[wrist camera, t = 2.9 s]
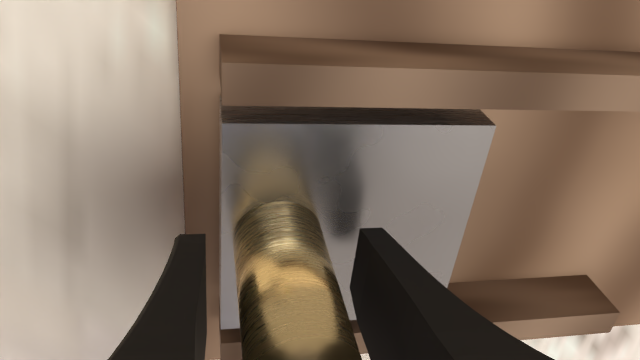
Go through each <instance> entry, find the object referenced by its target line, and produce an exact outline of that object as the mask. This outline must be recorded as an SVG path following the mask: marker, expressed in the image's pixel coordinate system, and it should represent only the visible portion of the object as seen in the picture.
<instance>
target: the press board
mask: <svg viewBox="0 0 640 360" xmlns="http://www.w3.org/2000/svg"><path fill="white" fill-rule="evenodd" d="M176 10H177V35H178V61H179V86H180V112H181V137H182V163H183V188H184V214H185V234H206V301H207V338H206V350H205V360H215V359H220V360H243V359H242V347H241V335H240V328H235V329H221V324H220V300H219V148H220V96H221V99H222V105H227V106H294V107H362V108H429V109H480V110H481V111H482V112H483V113H484V114H485V115H486V116H487V117H488V118H489V119H490V120H491V121H492V122H493V123H494V124H495V125H496V129H495V132H494V136H493V139H492V142H491V145H490V149H489V152H488V155H487V159H486V162H485V165H484V169H483V172H482V175H481V178H480V182H479V185H478V188H477V192H476V195H475V198H474V202H473V205H472V208H471V211H470V215H469V218H468V221H467V225H466V228H465V231H464V235H463V238H462V241H461V244H460V248H459V251H458V254H457V258H456V261H455V264H454V268H453V271H452V274H451V277H450V281H449V284H448V287H447V289H448V290H450V291H451V292H452V293H453V294H454V295H456V296H457V297H458V298H459V299H461V300H462V301H463V302H464V303H466V304H467V305H468V306H469V307H471V308H472V309H473V310H475V311H476V312H478V313H479V314H480V315H482V316H483V317H485V318H486V319H488V320H489V321H490V322H492V323H493V324H495V325H496V326H498V327H499V328H501V329H502V330H504V331H505V332H507V333H508V334H510V335H512V336H513V337H515V338H517V339H518V340H526V339H538V338H550V337H561V336H573V335H584V334H596V333H608V332H610V331H611V329H612V327H613V326H623V325H635V324H640V0H176ZM350 323H351V326H352V329H353V333H354V336H355V339H356V342H357V345H358V349H359V352H360V354H364V353H368V351H367V348H366V345H365V343H364V340H363V337H362V334H361V331H360V329H359V326H358V323H357V320H350Z"/></svg>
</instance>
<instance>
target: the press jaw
mask: <svg viewBox="0 0 640 360" xmlns="http://www.w3.org/2000/svg"><path fill="white" fill-rule="evenodd" d="M495 129H496V125H495V124H494V123H493V122H492V121H491V120H490V119H489V118H488V117H487V116H486V115H485V114H484V113H483V112H482V111H481V110H480V109H429V108H362V107H294V106H227V105H222V99H221V96H220V148H219V300H220V324H221V329H235V328H240V335H241V347H242V359H243V360H362V358H361V355H360V352H359V349H358V345H357V342H356V339H355V336H354V333H353V329H352V326H351V323H350V320H357V319H356V315H355V310H354V306H353V301H352V296H351V292H350V282H351V276H352V270H353V265H354V259H355V253H356V247H357V242H358V236H359V230H360V228H383V229H384V230H385V231H386V232H388V233H389V234H390V235H391V236H392V237H393V238H394V239H395V240H396V241H397V242H398V243H399V244H400V245H401V246H402V247H403V248H404V249H405V250H406V251H407V252H408V253H409V254H410V255H411V256H412V257H413V258H414V259H415V260H416V261H417V262H418V263H419V264H420V265H421V266H422V267H424V268H425V269H426V270H427V271H428V272H429V273H430V274H431V275H432V276H433V277H434V278H436V279H437V280H438V281H439V282H440V283H441V284H442V285H444V286H445V287H446V288H447V287H448V284H449V281H450V277H451V274H452V271H453V268H454V264H455V261H456V258H457V254H458V251H459V248H460V244H461V241H462V238H463V235H464V231H465V228H466V225H467V221H468V218H469V215H470V211H471V208H472V205H473V202H474V198H475V195H476V192H477V188H478V185H479V182H480V178H481V175H482V172H483V169H484V165H485V162H486V159H487V155H488V152H489V149H490V145H491V142H492V139H493V136H494V132H495Z"/></svg>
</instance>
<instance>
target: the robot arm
mask: <svg viewBox="0 0 640 360" xmlns="http://www.w3.org/2000/svg"><path fill="white" fill-rule="evenodd" d="M350 292H351V296H352V301H353V306H354V310H355V315H356V319H357V323H358V326H359V329H360V331H361V334H362V337H363V340H364V343H365V345H366V348H367V351H368V354H369V356H370V359H371V360H554V359H552V358H550V357H548V356H546V355H545V354H543V353H541V352H539V351H537V350H535V349H534V348H532V347H530V346H529V345H527V344H525V343H524V342H522V341H520V340H518V339H517V338H515V337H513V336H512V335H510V334H508V333H507V332H505V331H504V330H502V329H501V328H499V327H498V326H496V325H495V324H493V323H492V322H490V321H489V320H488V319H486V318H485V317H483V316H482V315H480V314H479V313H478V312H476V311H475V310H473V309H472V308H471V307H469V306H468V305H467V304H466V303H464V302H463V301H462V300H461V299H459V298H458V297H457V296H456V295H454V294H453V293H452V292H451V291H450V290H448V289H447V288H446V287H445V286H444V285H442V284H441V283H440V282H439V281H438V280H437V279H436V278H434V277H433V276H432V275H431V274H430V273H429V272H428V271H427V270H426V269H425V268H424V267H422V266H421V265H420V264H419V263H418V262H417V261H416V260H415V259H414V258H413V257H412V256H411V255H410V254H409V253H408V252H407V251H406V250H405V249H404V248H403V247H402V246H401V245H400V244H399V243H398V242H397V241H396V240H395V239H394V238H393V237H392V236H391V235H390V234H389V233H388V232H386V231H385V230H384V229H383V228H360V230H359V236H358V242H357V247H356V253H355V259H354V265H353V270H352V276H351V282H350ZM206 338H207V301H206V234H180V235H179V236H178V237H176V238H175V242H174V246H173V249H172V252H171V254H170V257H169V259H168V262H167V264H166V266H165V269H164V271H163V273H162V275H161V277H160V279H159V281H158V283H157V285H156V287H155V289H154V291H153V293H152V294H151V296H150V298H149V300H148V301H147V303H146V305H145V306H144V308H143V310H142V311H141V313H140V315H139V316H138V318H137V320H136V321H135V323H134V324H133V326H132V327H131V329H130V330H129V332H128V333H127V335H126V336H125V337H124V339H123V340H122V342H121V343H120V344H119V346H118V347H117V348H116V350H115V351H114V352H113V354H112V355H111V356H110V357H109V359H108V360H205V350H206Z"/></svg>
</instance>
